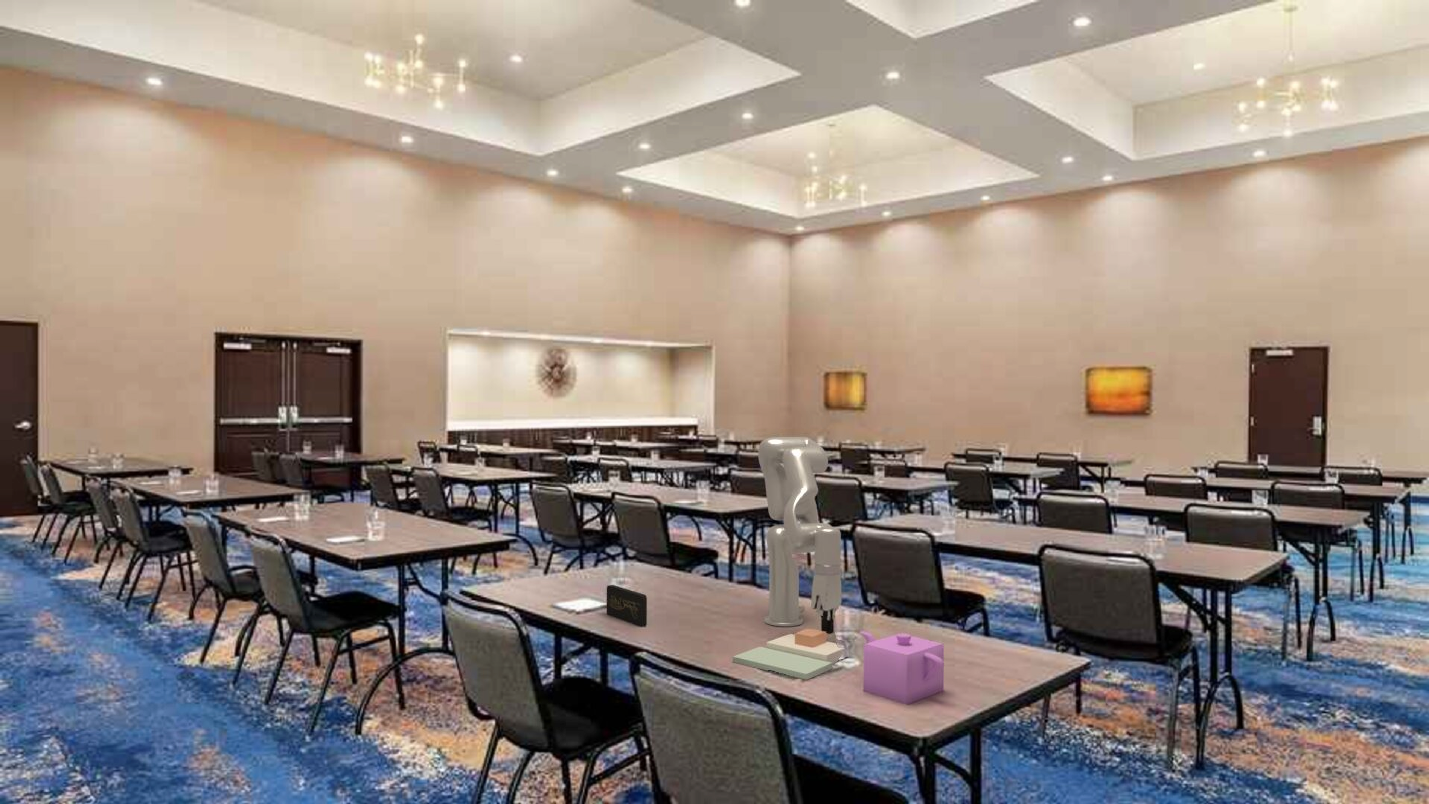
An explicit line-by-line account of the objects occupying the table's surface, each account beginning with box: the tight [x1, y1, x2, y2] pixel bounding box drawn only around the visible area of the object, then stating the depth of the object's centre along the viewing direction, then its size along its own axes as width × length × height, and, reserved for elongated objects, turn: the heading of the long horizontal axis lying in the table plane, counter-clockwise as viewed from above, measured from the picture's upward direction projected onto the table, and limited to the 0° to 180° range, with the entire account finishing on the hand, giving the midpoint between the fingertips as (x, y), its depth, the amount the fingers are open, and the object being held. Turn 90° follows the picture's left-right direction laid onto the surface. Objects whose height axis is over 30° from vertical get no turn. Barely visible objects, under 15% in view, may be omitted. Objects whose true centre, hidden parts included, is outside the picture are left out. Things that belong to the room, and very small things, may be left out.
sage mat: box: [732, 646, 833, 681], centre depth 236 cm, size 13×24×2 cm, turn 51°
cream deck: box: [765, 633, 845, 665], centre depth 246 cm, size 12×20×3 cm, turn 51°
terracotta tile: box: [794, 628, 827, 648], centre depth 247 cm, size 7×6×3 cm
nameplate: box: [606, 584, 648, 628], centre depth 284 cm, size 21×2×10 cm, turn 39°
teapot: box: [859, 631, 945, 705], centre depth 216 cm, size 15×25×14 cm, turn 42°
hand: (827, 632), depth 254 cm, fingers closed
